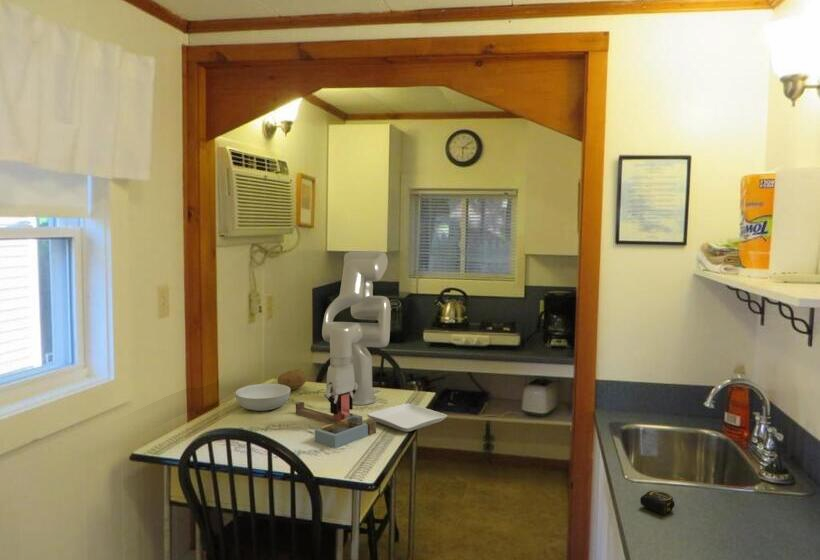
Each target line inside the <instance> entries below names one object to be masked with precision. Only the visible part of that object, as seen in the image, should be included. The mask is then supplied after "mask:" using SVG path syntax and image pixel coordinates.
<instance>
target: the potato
mask: <svg viewBox="0 0 820 560" xmlns="http://www.w3.org/2000/svg"><path fill="white" fill-rule="evenodd" d="M306 381H307V375H306V372H305V371H304V370H302V369H299V368H298V369H293V370H288V371H285V372H283V373H281V374H280V375H279V376H278V377H277V384H281V385H285V386H288V387H289V388H290V389H291V391H294V390H297V389H299V388H301V387H302V386H304V384H305V383H306Z"/></svg>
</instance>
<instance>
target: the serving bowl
mask: <svg viewBox="0 0 820 560" xmlns="http://www.w3.org/2000/svg"><path fill="white" fill-rule="evenodd" d="M291 391H292V390H291V389H290V388H289V387H288V386H285V385H281V384H278V383H258V384H250V385H246V386H245V385H244V386H243V387H239V388H238V389H237V390H236V391H235V398H236V401H237V403H238V404H239V405H240V406H241V407H243V408H245V409H246V410H249V411H250V410H251V411H258V412H263V411H264V412H266V411H270V410H271V411H272V410H275V409H278V408H280V407H282V406H284V405H285V404H286V403H287V402H288V400H289V399H290V396H291Z"/></svg>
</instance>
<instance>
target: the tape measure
mask: <svg viewBox="0 0 820 560" xmlns="http://www.w3.org/2000/svg"><path fill="white" fill-rule="evenodd" d="M639 499H640V500H639V503H640V505H641V506H643V507H644V508H646V509H650V510H652V511H654V512H656V513H659V514H660V515H666V514H667V513H669V512H671V511H673V509H674V507H675V501H674V497H673V496H672V495H671V493H668V492H665V491H662V490H650V491H647V492H646V493H645V494H644V495H642V496H641V497H640V498H639Z"/></svg>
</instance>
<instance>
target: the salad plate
mask: <svg viewBox="0 0 820 560" xmlns="http://www.w3.org/2000/svg"><path fill="white" fill-rule="evenodd" d="M366 416H367V417H368V418H369V419H371V421H375V422H376V423H379V424H381V425H383V426H386V427H389V428H392V429H396V430H398V431H401V432H404V433H408V432H413V431H416V430H420V429H423V428H426V427H429V426H431V425H434V424H438V423H440V422H443V421H444V420H445V419H446V418H447V417H448V414H445V413H442V412H439V411H435V410H432V409H430V408H427V407H426V408H425V407H423V406H419V405H416V404H413V403H410V402H409V403H407V402H406V403H403V404H399V405H395V406H390V407H386V408H382V409H379V410H376V411H372V412H368V413H367V414H366Z"/></svg>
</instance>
